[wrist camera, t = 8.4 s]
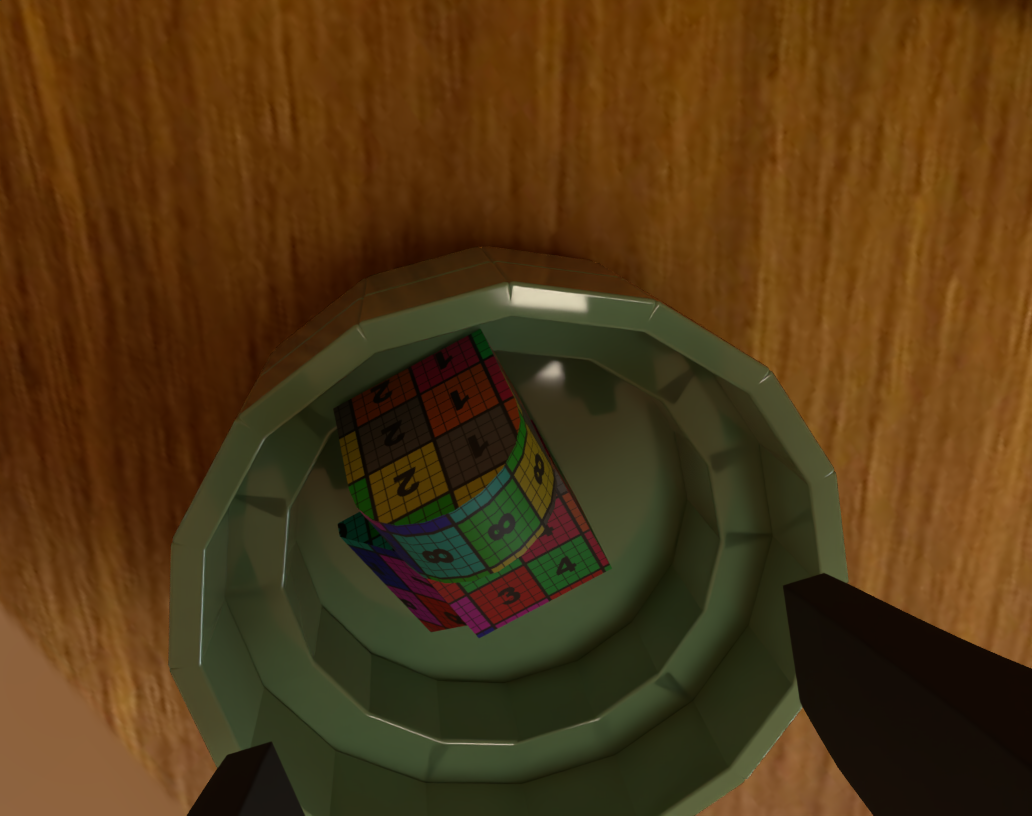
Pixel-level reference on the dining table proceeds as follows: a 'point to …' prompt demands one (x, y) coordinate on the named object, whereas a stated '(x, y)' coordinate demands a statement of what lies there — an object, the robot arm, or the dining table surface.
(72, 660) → the dining table surface
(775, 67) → the dining table surface
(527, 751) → the bowl
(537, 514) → the block
